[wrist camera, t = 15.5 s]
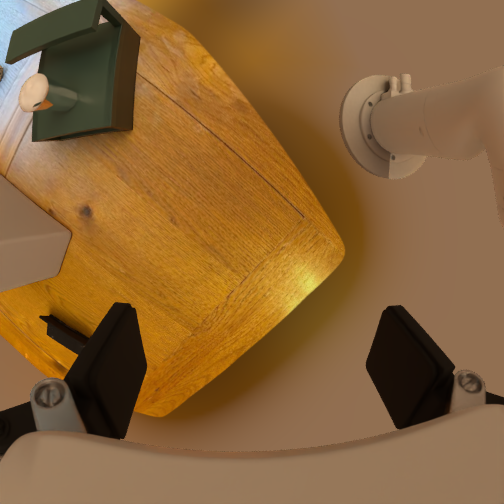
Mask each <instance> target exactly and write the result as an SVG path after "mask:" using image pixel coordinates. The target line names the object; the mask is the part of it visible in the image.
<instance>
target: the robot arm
mask: <svg viewBox="0 0 504 504" xmlns="http://www.w3.org/2000/svg"><path fill="white" fill-rule="evenodd" d="M389 84H390V89H389V90H381V91H378V92H375V93H373V94H371V95H370V96H369V97H368V98H367V99H366V100H365V102H364V103H363V105H362V107H361V111H360V115H359V124H360V131H361V134H362V137H363V139H364V141H365V143H366V145H367V146H368V148H369V149H370V150H371V151H372V152H373V153H374V154H375V155H376V156H378V157H379V158H381V159H383V160H385V161H388V162H394V163H399V162H404V161H407V160H409V159H410V158H412V157H413V156H414V155H420V156H430V157H439V158H447V159H454V160H469V159H472V158H474V157H476V156H478V155H479V154H480V153H482V152H483V151H484V150H485V149H486V152H487V156H488V160H489V163H490V167H491V172H492V178H493V183H494V190H495V196H496V202H497V209H498V215H499V219H500V222H501V224H502V227H503V229H504V65H503V66H499V67H496V68H493V69H491V70H488V71H485V72H483V73H481V74H478V75H476V76H473V77H470V78H467V79H464V80H460V81H456V82H452V83H448V84H443V85H438V86H434V87H429V88H425V89H421V90H417V91H412V92H411V76H410V75H409V74H400V84H401V90H400V91H398V90H397V85H398V84H397V78H396V77H389ZM368 104H369V106H368ZM367 136H368V138H367ZM391 157H392V158H391ZM366 369H367V371H368V373H369V375H370V377H371V379H372V381H373V383H374V385H375V387H376V389H377V391H378V393H379V395H380V396H381V398H382V401H383V402H384V404H385V406H386V408H387V410H388V412H389V414H390V416H391V419H392V420H393V423H394V425H395V427H396V428H397V429H400V430H397V431H393V432H390V433H386V434H382V435H378V436H374V437H369V438H364V439H360V440H355V441H349V442H344V443H338V444H332V445H326V446H318V447H310V448H301V449H290V450H277V451H252V452H225V451H202V450H188V449H178V448H170V447H161V446H154V445H146V444H140V443H134V442H129V441H123V440H120V438H121V439H124V438H125V436H126V433H127V429H128V426H129V423H130V419H131V416H132V413H133V410H134V407H135V404H136V401H137V398H138V394H139V391H140V388H141V385H142V383H143V380H144V377H145V374H146V370H147V362H146V358H145V353H144V349H143V344H142V339H141V334H140V329H139V324H138V319H137V313H136V309H135V308H132V307H131V304H129V303H118V302H115V303H114V304H113V306H112V307H111V308H110V310H109V311H108V313H107V314H106V316H105V317H104V318H103V320H102V321H101V323H100V324H99V326H98V327H97V329H96V330H95V332H94V333H93V335H92V336H91V337H90V339H89V340H88V342H87V343H86V345H85V346H84V348H83V349H82V351H81V352H80V354H79V355H78V357H77V359H76V360H75V362H74V363H73V365H72V367H71V368H70V370H69V372H68V373H67V375H66V377H65V378H64V380H61V379H58V378H47V379H44V380H42V381H40V382H38V383H37V384H36V385H35V386H34V387H33V389H32V391H31V394H30V401H29V402H27V403H24V404H21V405H18V406H15V407H13V408H9V409H6V410H4V411H0V504H504V397H501V396H498V395H494V394H492V393H489V392H486V389H485V383H484V381H483V379H482V378H481V377H480V376H479V375H478V374H477V373H475V372H473V371H470V370H461V371H458V372H457V373H456V374H455V376H454V374H453V373H452V372H453V370H454V369H455V366H454V364H453V363H452V362H451V361H450V359H449V358H448V357H447V356H446V355H445V353H444V352H443V351H442V350H441V349H440V348H439V346H437V344H436V343H435V342H434V341H433V339H432V338H431V337H430V336H429V335H428V334H427V333H426V331H425V330H424V329H423V328H422V327H421V326H420V325H419V324H418V323H417V321H416V320H415V319H414V318H413V317H412V316H411V315H410V314H409V313H408V312H407V311H406V310H405V308H404V307H403V306H401V305H398V306H397V305H396V306H388V307H387V308H386V310H384V311H383V312H382V315H381V319H380V322H379V325H378V328H377V331H376V335H375V337H374V340H373V343H372V346H371V349H370V352H369V355H368V358H367V361H366Z"/></svg>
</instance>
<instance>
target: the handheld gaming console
mask: <svg viewBox="0 0 504 504" xmlns="http://www.w3.org/2000/svg"><path fill="white" fill-rule="evenodd" d="M39 318H40V319H42V320H43V321H45V322H46V323H48V326H47V335H48V336H49V337H51V338H52V339H54V340H55V341H57V342H58V343H60V344H62V345H63V346H65V347H66V348H68V349H70V350H71V351H73V352H74V353H76V354H78V355H79V354H80V352H81V351H82V349H83V348H84V346H85V345H86V343H87V342H88V340H89V338H88V337H86V336H84V335H83V334H81V333H79V332H78V331H76V330H74V329H72V328H71V327H69V326H67V325H66V324H65V323H63V322H62V321H60V320H59V319H57V318H56V317H54V316H53V315H51V314H50V315H49V316H40V317H39Z"/></svg>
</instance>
